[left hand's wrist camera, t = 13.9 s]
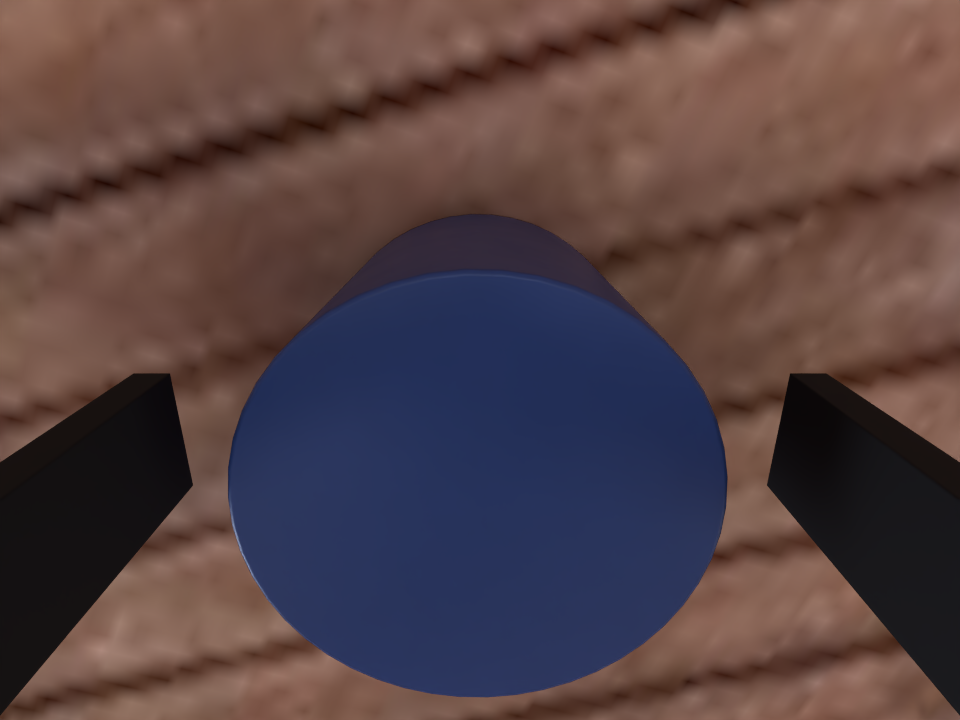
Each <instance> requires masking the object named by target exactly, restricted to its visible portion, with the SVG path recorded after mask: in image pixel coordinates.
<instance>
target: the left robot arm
mask: <svg viewBox="0 0 960 720" xmlns="http://www.w3.org/2000/svg"><path fill="white" fill-rule="evenodd" d="M192 486H193V483H192V478H191V473H190V468H189V464H188V459H187V454H186V449H185V444H184V440H183V435H182V430H181V425H180V420H179V415H178V411H177V406H176V401H175V396H174V391H173V386H172V382H171V377H170V374H132V375H131V376H129V377H128V378H126V379H125V380H123V381H122V382H120V383H119V384H117V385H116V386H114V387H113V388H111V389H110V390H108V391H107V392H105V393H104V394H102V395H101V396H99V397H98V398H96V399H95V400H93V401H92V402H90V403H89V404H87V405H86V406H84V407H83V408H81V409H80V410H78V411H77V412H75V413H74V414H72V415H71V416H69V417H68V418H66V419H65V420H63V421H62V422H60V423H59V424H57V425H56V426H54V427H53V428H51V429H50V430H48V431H47V432H45V433H44V434H42V435H41V436H39V437H38V438H36V439H35V440H33V441H32V442H30V443H29V444H27V445H26V446H24V447H23V448H21V449H20V450H18V451H17V452H15V453H14V454H12V455H11V456H9V457H8V458H6V459H5V460H3V461H2V462H0V715H1V714H2V713H3V711H4V710H5V709H6V708H7V707H8V705H9V704H10V703H11V702H12V701H13V699H14V698H15V697H16V696H17V695H18V694H19V692H20V691H21V690H22V689H23V688H24V686H25V685H26V684H27V683H28V682H29V680H30V679H31V678H32V677H33V676H34V674H35V673H36V672H37V671H38V670H39V668H40V667H41V666H42V665H43V664H44V662H45V661H46V660H47V659H48V658H49V657H50V655H51V654H52V653H53V652H54V651H55V649H56V648H57V647H58V646H59V645H60V643H61V642H62V641H63V640H64V639H65V637H66V636H67V635H68V634H69V633H70V631H71V630H72V629H73V628H74V627H75V625H76V624H77V623H78V622H79V621H80V620H81V618H82V617H83V616H84V615H85V614H86V612H87V611H88V610H89V609H90V608H91V606H92V605H93V604H94V603H95V602H96V600H97V599H98V598H99V597H100V596H101V594H102V593H103V592H104V591H105V590H106V589H107V587H108V586H109V585H110V584H111V583H112V581H113V580H114V579H115V578H116V577H117V575H118V574H119V573H120V572H121V571H122V569H123V568H124V567H125V566H126V565H127V563H128V562H129V561H130V560H131V559H132V557H133V556H134V555H135V554H136V553H137V552H138V550H139V549H140V548H141V547H142V546H143V544H144V543H145V542H146V541H147V540H148V538H149V537H150V536H151V535H152V534H153V532H154V531H155V530H156V529H157V528H158V526H159V525H160V524H161V523H162V522H163V520H164V519H165V518H166V517H167V516H168V515H169V513H170V512H171V511H172V510H173V509H174V507H175V506H176V505H177V504H178V503H179V501H180V500H181V499H182V498H183V497H184V495H185V494H186V493H187V492H188V491H189V489H190V488H191V487H192ZM767 486H768V487H769V488H770V489H771V491H772V492H773V493H774V494H775V495H776V497H777V498H778V499H779V500H780V501H781V503H782V504H783V505H784V506H785V507H786V509H787V510H788V511H789V512H790V513H791V515H792V516H793V517H794V518H795V519H796V520H797V522H798V523H799V524H800V525H801V526H802V528H803V529H804V530H805V531H806V532H807V534H808V535H809V536H810V537H811V538H812V540H813V541H814V542H815V543H816V544H817V546H818V547H819V548H820V549H821V550H822V552H823V553H824V554H825V555H826V556H827V557H828V559H829V560H830V561H831V562H832V563H833V565H834V566H835V567H836V568H837V569H838V571H839V572H840V573H841V574H842V575H843V577H844V578H845V579H846V580H847V581H848V583H849V584H850V585H851V586H852V587H853V589H854V590H855V591H856V592H857V593H858V594H859V596H860V597H861V598H862V599H863V600H864V602H865V603H866V604H867V605H868V606H869V608H870V609H871V610H872V611H873V612H874V614H875V615H876V616H877V617H878V618H879V620H880V621H881V622H882V623H883V624H884V625H885V627H886V628H887V629H888V630H889V631H890V633H891V634H892V635H893V636H894V637H895V639H896V640H897V641H898V642H899V643H900V645H901V646H902V647H903V648H904V649H905V651H906V652H907V653H908V654H909V655H910V657H911V658H912V659H913V660H914V661H915V662H916V664H917V665H918V666H919V667H920V668H921V670H922V671H923V672H924V673H925V674H926V676H927V677H928V678H929V679H930V680H931V682H932V683H933V684H934V685H935V686H936V688H937V689H938V690H939V691H940V692H941V694H942V695H943V696H944V697H945V698H946V699H947V701H948V702H949V703H950V704H951V705H952V707H953V708H954V709H955V710H956V711H957V713H958V714H959V715H960V462H958V461H957V460H955V459H954V458H952V457H951V456H949V455H948V454H946V453H945V452H943V451H942V450H940V449H939V448H937V447H936V446H934V445H933V444H931V443H930V442H928V441H927V440H925V439H924V438H922V437H921V436H919V435H918V434H916V433H915V432H913V431H912V430H910V429H909V428H907V427H906V426H904V425H903V424H901V423H900V422H898V421H897V420H895V419H894V418H892V417H891V416H889V415H888V414H886V413H885V412H883V411H882V410H880V409H879V408H877V407H876V406H874V405H873V404H871V403H870V402H868V401H867V400H865V399H864V398H862V397H861V396H859V395H858V394H856V393H855V392H853V391H852V390H850V389H849V388H847V387H846V386H844V385H843V384H841V383H840V382H838V381H837V380H835V379H834V378H832V377H831V376H829V375H828V374H790V377H789V382H788V386H787V391H786V396H785V401H784V406H783V411H782V415H781V420H780V425H779V430H778V435H777V440H776V444H775V449H774V454H773V459H772V464H771V468H770V473H769V478H768V483H767Z"/></svg>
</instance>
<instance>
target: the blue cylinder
mask: <svg viewBox="0 0 960 720" xmlns="http://www.w3.org/2000/svg"><path fill="white" fill-rule="evenodd" d="M726 497H727V468H726V459H725V450H724V445H723V441H722V437H721V434H720V430H719V426H718V423H717V419H716V417H715V415H714V412H713V410H712V408H711V406H710V404H709V401H708V399H707V397H706V395H705V392H704V391H703V389H702V388H701V386H700V384H699V383H698V381H697V380H696V378H695V377H694V375H693V374H692V372H691V371H690V369H689V368H688V366H687V365H686V363H685V362H684V361H683V360H682V359H681V358H680V357H679V356H678V355H677V353H676V352H675V351H674V350H673V349H672V348H671V347H670V346H669V344H668V343H667V342H666V341H665V340H664V339H663V338H662V337H661V336H660V335H659V334H658V333H657V332H656V331H655V330H654V329H653V328H652V327H651V326H650V324H649V323H648V322H647V321H646V320H645V319H644V318H643V317H642V316H641V315H640V314H639V313H638V312H637V311H636V310H635V309H634V308H633V307H632V306H631V305H630V304H629V303H628V302H627V301H626V300H625V299H624V298H623V297H622V296H621V295H620V294H619V293H618V292H617V290H616V289H615V288H614V287H613V286H612V285H611V284H610V283H609V282H608V281H607V280H606V279H605V278H604V277H603V276H602V275H601V274H600V273H599V272H598V271H597V270H596V269H595V268H594V267H593V266H592V265H591V264H590V263H589V262H588V261H587V260H586V259H585V258H584V257H583V256H582V255H581V254H580V253H579V252H578V251H577V250H575V249H574V248H573V247H572V246H571V245H569V244H568V243H567V242H565V241H564V240H562V239H560V238H559V237H557V236H556V235H554V234H553V233H551V232H549V231H547V230H544V229H542V228H540V227H538V226H536V225H533V224H531V223H527V222H524V221H521V220H517V219H514V218H509V217H503V216H496V215H479V214H469V215H461V216H452V217H447V218H443V219H439V220H435V221H431V222H428V223H426V224H423V225H421V226H418V227H416V228H413V229H411V230H409V231H408V232H406V233H404V234H402V235H401V236H399V237H397V238H395V239H394V240H392V241H391V242H390V243H388V244H387V245H386V246H385V247H383V248H382V249H381V250H379V251H378V252H377V253H376V254H375V255H374V256H373V257H372V258H371V259H370V260H369V261H368V262H367V263H366V264H365V265H364V266H363V267H362V268H361V269H360V270H359V271H358V272H357V273H356V274H355V276H354V277H353V278H352V279H351V280H350V281H349V282H348V283H347V284H346V285H345V286H344V287H343V288H342V289H341V290H340V291H339V292H338V293H337V294H336V295H335V296H334V297H333V298H332V299H331V300H330V301H329V302H328V303H327V304H326V305H325V306H324V307H323V308H322V309H321V310H320V311H319V312H318V313H317V314H316V315H315V316H314V317H313V318H312V319H311V320H310V321H309V323H308V324H307V325H306V326H305V327H304V328H303V329H302V330H301V331H300V332H299V333H298V334H297V335H296V336H295V337H294V338H293V339H292V340H291V341H290V342H289V343H288V344H287V345H286V346H285V347H284V348H283V349H282V350H281V351H280V352H279V353H278V354H277V355H276V356H275V357H274V359H273V360H272V362H271V363H270V364H269V366H268V367H267V368H266V370H265V371H264V373H263V374H262V375H261V377H260V378H259V380H258V381H257V382H256V384H255V386H254V388H253V390H252V392H251V394H250V396H249V398H248V400H247V402H246V404H245V406H244V408H243V410H242V412H241V415H240V418H239V421H238V424H237V427H236V431H235V434H234V437H233V441H232V447H231V453H230V460H229V466H228V499H229V506H230V513H231V519H232V526H233V529H234V532H235V535H236V538H237V542H238V545H239V548H240V551H241V554H242V556H243V558H244V560H245V562H246V564H247V566H248V568H249V570H250V573H251V575H252V577H253V578H254V580H255V581H256V583H257V584H258V586H259V587H260V589H261V590H262V592H263V593H264V595H265V597H266V598H267V600H268V601H269V602H270V603H271V604H272V605H273V607H274V608H275V609H276V610H277V611H278V612H279V614H280V615H281V616H282V617H283V618H284V619H285V620H286V621H287V622H288V623H289V624H290V625H291V626H292V627H293V628H294V629H295V630H296V631H298V632H299V633H300V634H301V635H302V636H303V637H304V638H305V639H307V640H308V641H309V642H311V643H312V644H314V645H315V646H316V647H318V648H319V649H320V650H322V651H323V652H325V653H326V654H327V655H329V656H331V657H333V658H334V659H336V660H338V661H340V662H341V663H343V664H345V665H347V666H348V667H350V668H352V669H354V670H357V671H359V672H361V673H364V674H366V675H368V676H371V677H373V678H375V679H377V680H381V681H384V682H387V683H390V684H393V685H396V686H400V687H403V688H407V689H412V690H416V691H421V692H426V693H431V694H439V695H448V696H457V697H496V696H508V695H518V694H523V693H529V692H534V691H540V690H545V689H548V688H552V687H555V686H559V685H562V684H566V683H569V682H572V681H574V680H577V679H579V678H582V677H584V676H587V675H589V674H592V673H594V672H597V671H599V670H601V669H602V668H604V667H606V666H608V665H610V664H612V663H614V662H616V661H618V660H620V659H621V658H623V657H624V656H626V655H627V654H629V653H630V652H632V651H633V650H635V649H636V648H638V647H639V646H641V645H642V644H644V643H645V642H646V641H647V640H648V639H649V638H651V637H652V636H653V635H654V634H655V633H656V632H658V631H659V630H660V629H661V628H662V627H664V626H665V625H666V623H667V622H668V621H669V620H670V619H671V618H672V617H673V616H674V615H675V614H676V613H677V612H678V610H679V609H680V608H681V607H682V606H683V605H684V603H685V602H686V601H687V599H688V598H689V596H690V595H691V594H692V592H693V591H694V589H695V588H696V587H697V585H698V584H699V582H700V580H701V578H702V576H703V574H704V572H705V570H706V569H707V567H708V565H709V563H710V561H711V559H712V556H713V553H714V551H715V548H716V545H717V542H718V539H719V537H720V534H721V529H722V524H723V519H724V514H725V509H726Z"/></svg>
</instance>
